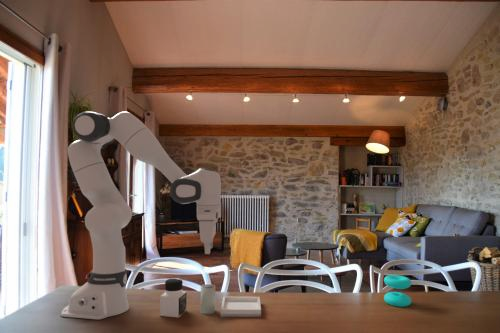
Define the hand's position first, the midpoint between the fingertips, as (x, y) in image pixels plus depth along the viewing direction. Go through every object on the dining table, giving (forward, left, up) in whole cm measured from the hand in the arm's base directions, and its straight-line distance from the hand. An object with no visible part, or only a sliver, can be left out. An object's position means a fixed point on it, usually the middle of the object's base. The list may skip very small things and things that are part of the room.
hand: (208, 251), depth 135 cm
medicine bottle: (-12, -2, -22) cm, 25 cm away
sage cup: (0, 0, -22) cm, 22 cm away
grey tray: (+12, +2, -22) cm, 25 cm away
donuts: (+73, +10, -22) cm, 77 cm away
